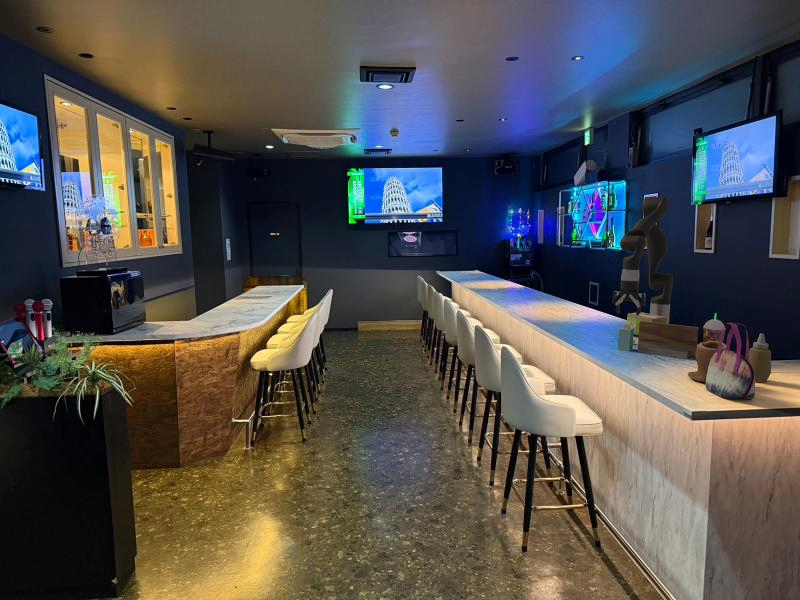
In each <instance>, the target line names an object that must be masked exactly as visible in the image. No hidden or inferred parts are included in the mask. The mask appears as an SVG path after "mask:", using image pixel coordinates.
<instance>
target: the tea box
mask: <svg viewBox="0 0 800 600" xmlns="http://www.w3.org/2000/svg"><path fill="white" fill-rule="evenodd" d="M626 319H627V320H626V325H630V328H634V335H633V345H637V346H638V339H639V326H640V321H646V322H655V323H664V324H666V320H667V317H663V316H658V315H653V314H650V313H648V312H647V313H646V312H643V311H641V312H640V314H639V315H638V316H637V315H636V312H632V313H631V312H630V313H627V318H626Z"/></svg>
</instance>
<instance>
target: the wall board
mask: <svg viewBox="0 0 800 600" xmlns="http://www.w3.org/2000/svg"><path fill="white" fill-rule="evenodd" d="M698 339H699V327H698V326H689V325H681V324H672V323H669V324H664V323H655V322H646V321H640V326H639V339H638V345H637V353H641V354H648V355H654V356H661V357H667V358H668V357H670V358H674V359H675V358H676V359H682V360H687V359H688V358H690V357H693V358H694V357H695V358H696V349H697V346H698Z"/></svg>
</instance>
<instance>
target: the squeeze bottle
mask: <svg viewBox="0 0 800 600" xmlns="http://www.w3.org/2000/svg"><path fill="white" fill-rule="evenodd" d="M749 363H750V364H751V365H752V367H753V370H754V373H755V383H767V382H768V379H769V377H770V376H771V374H772V351H771V350H770V349H769V343H767V342H766V338H765V334H764V333H759V336H758V338H757V340H756V341H754V342H753V344H752V347H751V348H749Z"/></svg>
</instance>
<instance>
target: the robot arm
mask: <svg viewBox="0 0 800 600" xmlns="http://www.w3.org/2000/svg"><path fill="white" fill-rule="evenodd" d="M641 209H642V216H643V217H642V218H640V219H639V220H638V221H637V222H636V223H635V224H634V226H633V228H631V230H629V231H628V232H626V233H625V234H624V235H623V236H622V237H621V238H620V242H619V246H620V248H621V250H622V251H623V252H624V251H625V252H634V253H633V254H632V255H629V256H625V257H624V258H623V259H622V269H621V270H622V271H621V276H620V291H618V290H614V291H612V297H611V298H612V299H611V304H612V305H615V313H616V314H617V315H618V314H620V312H621V304H622V303H623V302H631V303H632V302H633V303H634V304H635V306H636V308H635V309H636V311H635V313H636V315H637V316H638V315H639V314H640V312H642V311H641V310H642V309H641V308H642V307H643V308H644V307H645V306H646V305H647V304H646V303H647V302H646V297H647V293H645V292H643V293H640V292H639V287H640V286H639V285H640V264H641V263H640V262H641V258H642V255H643V252H644V251H645V247H646V251H647V257H648V258H647V259H648V260H647V261H648V286H649V289H650V290H652V291H653V290H654V291H660V292H661V291H662V293H661V294H660V295H656V296H652V297H651V298H650V307H649V314H653V315H658V316H663V317H667V320H666V324H670V312H671V302H672V301H671V300H672V292H673V291H672V290H673V286H674V285H673V284H674V276H673V274H672V273H670V272H669V273H668V272H659V271H658V266H659V265H660V263H661V262H662V260H663V259H664V258H665V256H666V255H667V252H668V239H667V236H666V235H665V233H664V232H663V231H662V230H661V228H660V227H659V225H657V223H658V222H659V221H661V219H663V218H664V217H665V216H666V215H667V213H668V212H669V209H670V201H669V198H668V197H666V196H646V197H644V199H643V200H642V205H641ZM618 296H620V298H619V299H618V300H617V297H618ZM638 297H639V298H640V300H641V303H640V301H639V299H638Z"/></svg>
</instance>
